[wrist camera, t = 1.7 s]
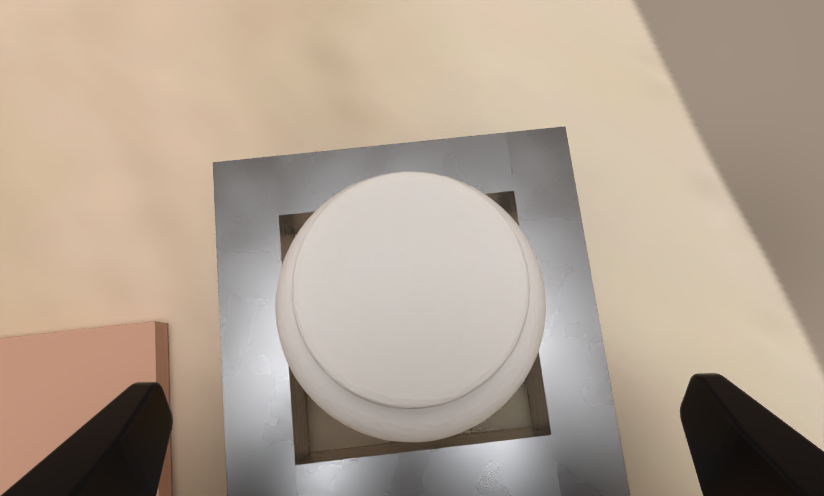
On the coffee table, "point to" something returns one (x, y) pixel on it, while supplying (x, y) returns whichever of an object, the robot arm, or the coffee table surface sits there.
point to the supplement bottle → (410, 307)
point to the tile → (71, 387)
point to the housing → (440, 459)
